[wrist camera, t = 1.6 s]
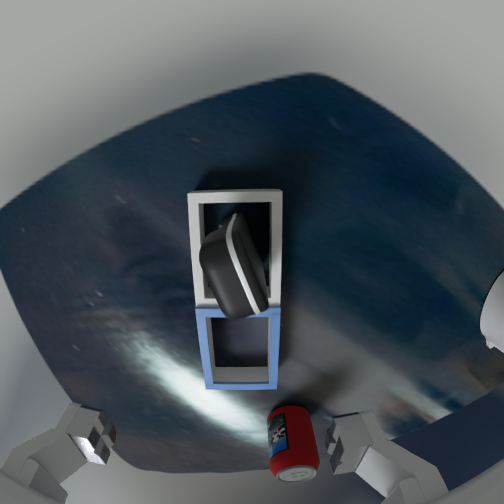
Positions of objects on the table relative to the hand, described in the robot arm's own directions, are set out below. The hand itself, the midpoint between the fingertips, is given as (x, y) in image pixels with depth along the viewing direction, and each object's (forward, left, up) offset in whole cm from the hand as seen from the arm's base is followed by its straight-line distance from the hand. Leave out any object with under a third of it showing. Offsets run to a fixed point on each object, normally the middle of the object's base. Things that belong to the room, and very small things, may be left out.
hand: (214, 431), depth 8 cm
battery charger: (0, 0, -24) cm, 24 cm away
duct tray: (0, +6, -24) cm, 25 cm away
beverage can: (-7, +28, -24) cm, 38 cm away
